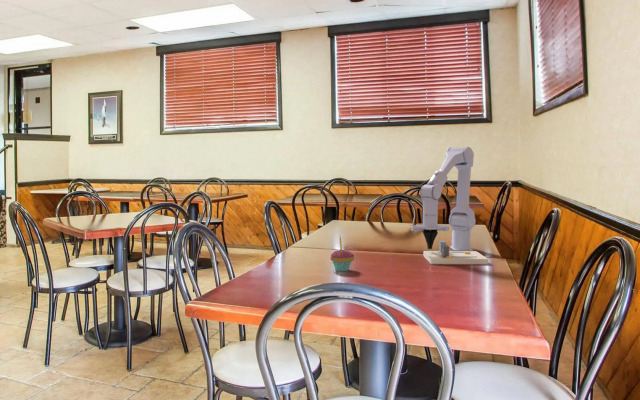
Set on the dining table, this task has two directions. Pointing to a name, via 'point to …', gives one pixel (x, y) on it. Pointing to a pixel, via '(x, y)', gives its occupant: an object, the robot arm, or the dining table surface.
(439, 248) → the grey rectangular block
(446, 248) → the gray tab
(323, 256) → the dining table surface
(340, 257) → the cupcake
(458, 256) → the switch board
